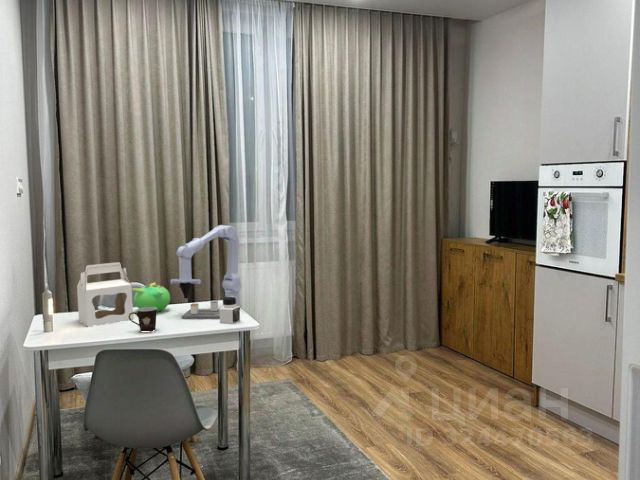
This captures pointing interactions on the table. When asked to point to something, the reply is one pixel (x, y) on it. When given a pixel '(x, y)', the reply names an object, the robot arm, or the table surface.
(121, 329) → the table surface
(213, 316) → the plate
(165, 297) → the green teapot
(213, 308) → the breaker
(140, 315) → the coffee mug
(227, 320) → the medicine bottle
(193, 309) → the breaker
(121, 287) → the gable box
